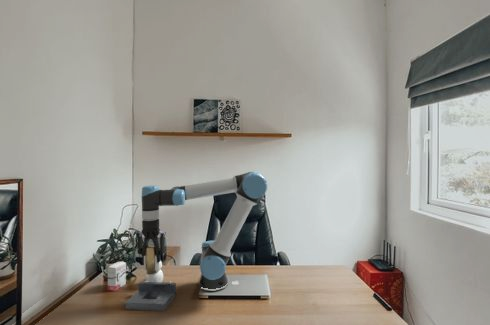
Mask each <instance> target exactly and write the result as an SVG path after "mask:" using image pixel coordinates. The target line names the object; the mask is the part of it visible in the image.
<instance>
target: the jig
mask: <svg viewBox="0 0 490 325" xmlns="http://www.w3.org/2000/svg"><path fill="white" fill-rule="evenodd" d="M176 296H177V283H176V282H172V281H171V280H169V281H167V282H163V281H162V282H147V280H146V279H145V280H144V281H140V282H139V283H138V290H137V291H135V293H133V295H131V297H130V298H128V299H127V300H126V302H124V303H125V310H136V311H137V310H140V311H159V312H161V311H162V312H165V311H166V310H167V308H168V307H169V306H170V304H171V303H172V301H173V300H174V299H175V297H176Z"/></svg>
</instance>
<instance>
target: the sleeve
mask: <svg viewBox="0 0 490 325" xmlns="http://www.w3.org/2000/svg"><path fill="white" fill-rule="evenodd" d="M155 256H156V251H155V247H154V244H153V245H148V246H147V247H146V270H145V271H146V275H147V274H149V275H150V274H155V273H156V272H157V270H155Z"/></svg>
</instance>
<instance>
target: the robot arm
mask: <svg viewBox="0 0 490 325" xmlns="http://www.w3.org/2000/svg"><path fill="white" fill-rule="evenodd" d="M267 190H268V182H267V179H266V178H265V177H264V176H263V174H261V173H259V172H254V171H249V172H245V173H241V174H237V175H234V176H233V177H232V178H226V179H219V180H213V181H206V182H201V183H200V182H198V183H195V184H193V183H192V184H188V185H181V186H173V187H171V188H170V189H160V188H159V186H158V185H145V186H142V188H141V195H140V196H141V219H142V221H141V225H142V226H141V227H142V230H141V231H139V232H137V233H136V234H135V235H136V238H137V254H138V255H141V261H142V263H143V270H144V271H146V247H147V246H149V243H150V240H151V241H152V243H153V245H154V247H155V251H156V256H155V270H157V269H158V268H159V262H160V261H161V262H162V259H161V256H162V255H163V254H165V252H166V251H165V250H166V249H165V248H166V247H165V245H166V243H165V239H166V238H165V237H166V232H165V231H161V229H160V219H159V218H160V207H167V206H168V207H171V206H174V207H175V206H176V207H178V206H184V205H185V203H186V201H188V200H195V199H202V198H207V197H214V196H221V195H226V194H232V193H235V195H236V199H235V200H234V202H233V205H232V206H231V209H230V210H229V212H228V214H227V216H226V218H225V220H224V222H223V224H222V226H221V228H220V229H219V232H218V234H217V236H216V238H215V239H214V240H207V241H203V242H201V259H200V264H199V270H200V273H201V274H200V277H199V281H198V288H199V289H200V288H201V287H203V288H208V289H216V288H221V287H223V286H225V285H226V284H227V283H228V284H229V282H228V277H227V273H226V270H227V264H228V261H229V260H230V258H231V256H232V254H231V249H232V247H233V245H234V243H235V241H236V239H237V238H238V235H239V234H240V231H241V229H242V228H243V225H244V224H245V222H246V220H247V217H249V214H250V213H251V211H252V208H253V207H254V206H256V205H258V203H259V201H260V200H261V198H262V197H263V196H264V195H265V194H266V192H267ZM158 236H159V237H160V238H159V237H158ZM143 237H144V239H143Z"/></svg>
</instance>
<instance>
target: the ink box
mask: <svg viewBox="0 0 490 325" xmlns="http://www.w3.org/2000/svg"><path fill="white" fill-rule="evenodd" d="M126 282H127V262H124V261H117V262H115V263H113V264H111V265H108V267H107V291H111V292H112V291H114V292H116V291H117V290H120V289H121V287H123V286H125V285H126V284H127V283H126Z"/></svg>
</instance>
